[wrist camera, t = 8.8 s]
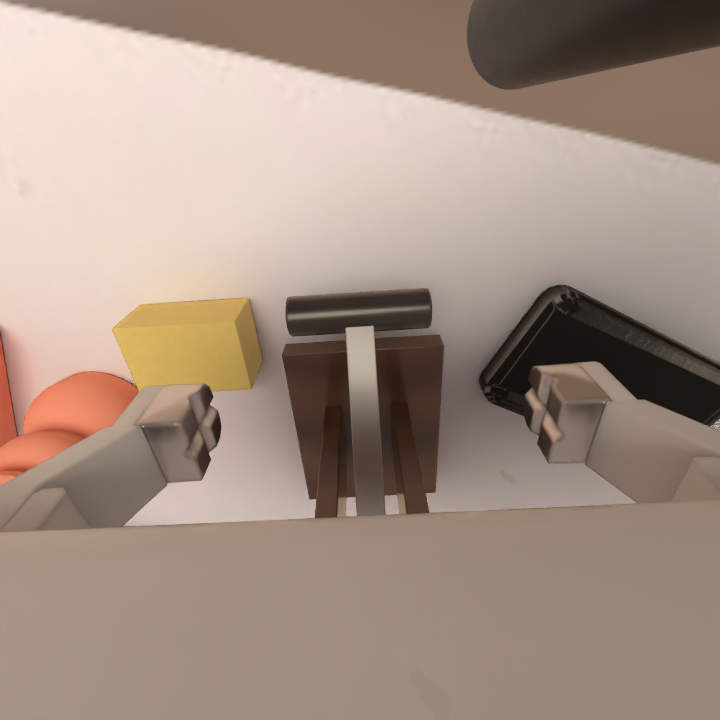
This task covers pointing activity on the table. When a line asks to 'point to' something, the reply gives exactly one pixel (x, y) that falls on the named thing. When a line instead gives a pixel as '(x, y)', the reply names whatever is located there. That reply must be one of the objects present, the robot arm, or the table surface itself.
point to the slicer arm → (362, 365)
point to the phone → (602, 356)
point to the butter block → (191, 344)
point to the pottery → (58, 417)
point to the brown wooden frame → (396, 410)
